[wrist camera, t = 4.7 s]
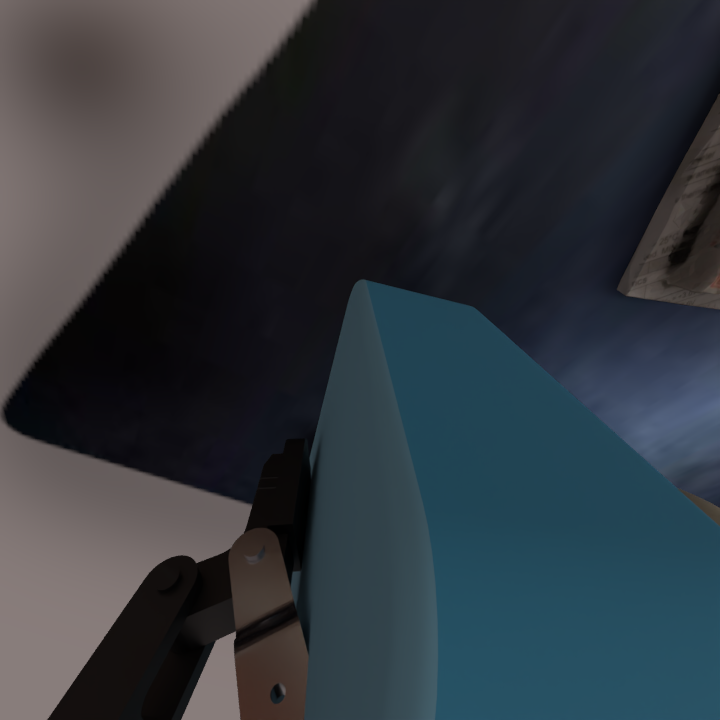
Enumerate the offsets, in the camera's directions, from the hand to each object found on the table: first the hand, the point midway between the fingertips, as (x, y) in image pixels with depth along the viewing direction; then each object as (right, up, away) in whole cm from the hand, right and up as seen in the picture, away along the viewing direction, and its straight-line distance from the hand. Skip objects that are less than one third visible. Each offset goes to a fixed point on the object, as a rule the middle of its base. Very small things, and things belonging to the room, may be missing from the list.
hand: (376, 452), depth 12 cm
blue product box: (0, +2, +3) cm, 3 cm away
